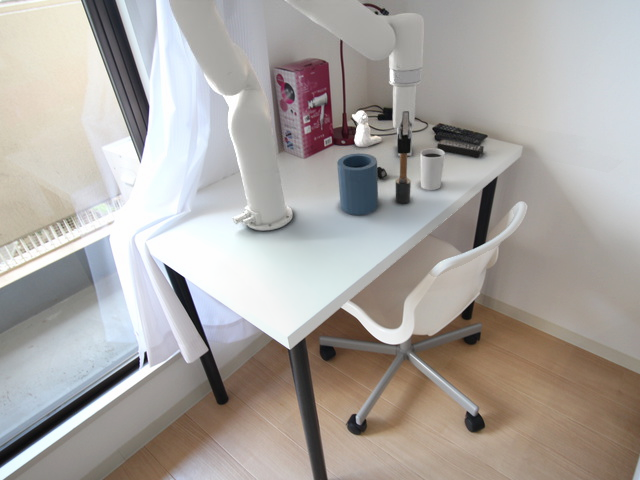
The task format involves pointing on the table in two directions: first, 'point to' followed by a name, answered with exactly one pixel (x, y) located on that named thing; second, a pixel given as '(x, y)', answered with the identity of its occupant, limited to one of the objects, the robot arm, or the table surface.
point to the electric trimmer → (381, 173)
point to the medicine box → (411, 142)
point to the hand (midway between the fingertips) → (403, 150)
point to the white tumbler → (431, 168)
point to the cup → (358, 183)
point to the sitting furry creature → (364, 131)
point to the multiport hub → (461, 148)
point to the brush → (403, 182)
